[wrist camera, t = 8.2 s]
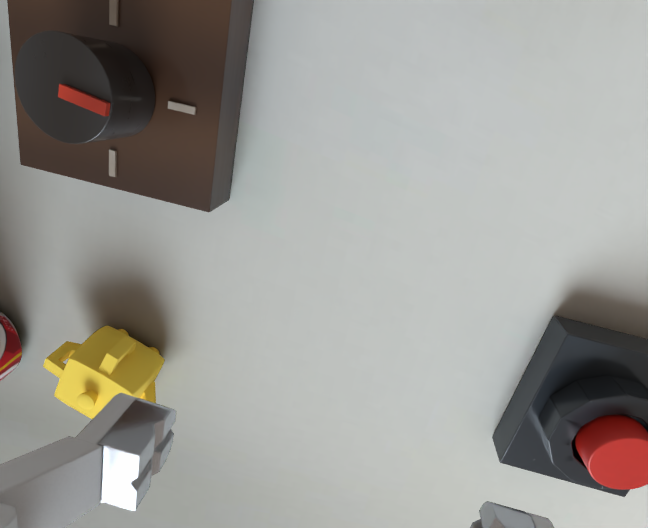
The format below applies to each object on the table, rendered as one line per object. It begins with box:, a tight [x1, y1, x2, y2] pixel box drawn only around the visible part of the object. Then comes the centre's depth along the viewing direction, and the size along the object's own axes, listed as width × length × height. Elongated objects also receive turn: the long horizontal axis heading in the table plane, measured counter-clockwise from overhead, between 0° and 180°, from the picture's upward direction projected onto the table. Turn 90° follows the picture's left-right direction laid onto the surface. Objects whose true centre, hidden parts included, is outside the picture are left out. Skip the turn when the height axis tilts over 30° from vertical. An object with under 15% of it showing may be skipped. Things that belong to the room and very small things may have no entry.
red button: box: [575, 414, 648, 490], centre depth 22 cm, size 4×4×2 cm
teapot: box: [43, 326, 165, 419], centre depth 28 cm, size 8×6×5 cm
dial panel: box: [7, 0, 254, 212], centre depth 21 cm, size 14×11×3 cm
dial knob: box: [14, 31, 155, 144], centre depth 19 cm, size 4×4×4 cm
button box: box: [492, 315, 648, 497], centre depth 25 cm, size 10×8×4 cm
